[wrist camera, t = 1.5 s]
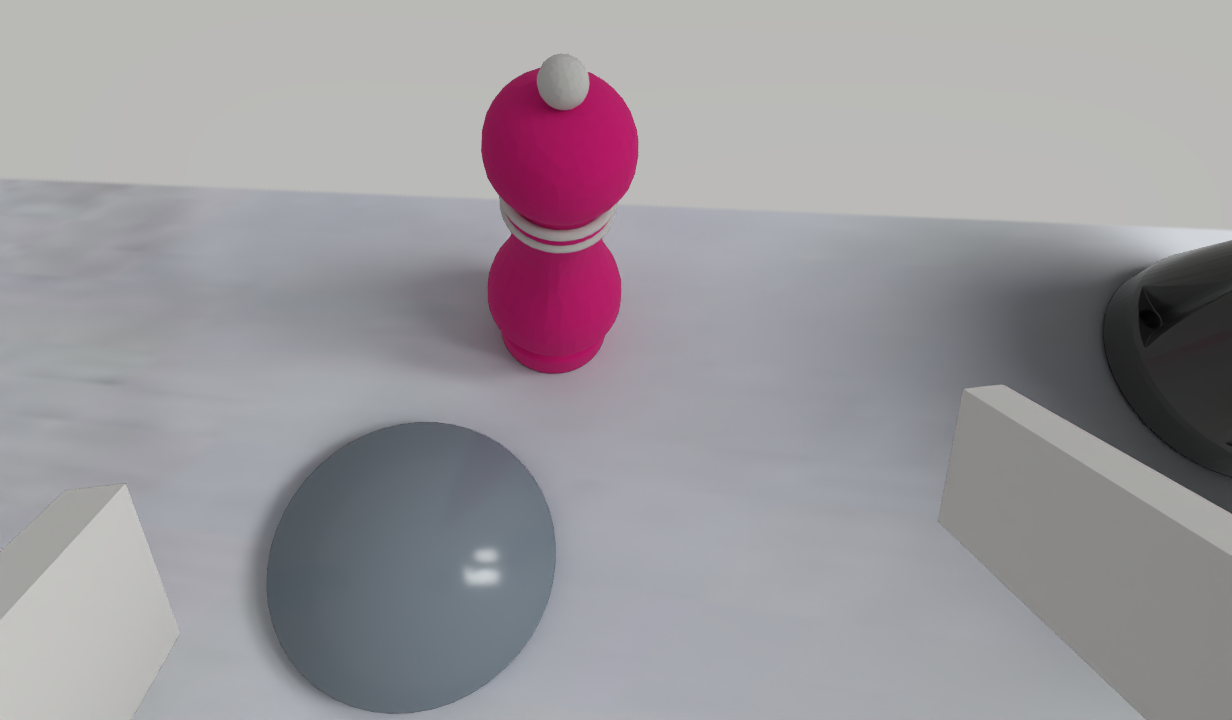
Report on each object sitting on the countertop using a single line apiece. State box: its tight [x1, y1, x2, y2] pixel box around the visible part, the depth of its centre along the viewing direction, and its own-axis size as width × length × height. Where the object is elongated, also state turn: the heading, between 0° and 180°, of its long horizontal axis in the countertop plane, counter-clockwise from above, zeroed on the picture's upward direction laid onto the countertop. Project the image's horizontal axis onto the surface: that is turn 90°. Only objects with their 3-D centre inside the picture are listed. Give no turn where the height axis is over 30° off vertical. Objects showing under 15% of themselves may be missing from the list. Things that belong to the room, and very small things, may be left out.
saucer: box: [267, 422, 555, 714], centre depth 34 cm, size 14×14×1 cm
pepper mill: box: [481, 54, 638, 373], centre depth 31 cm, size 7×7×20 cm
